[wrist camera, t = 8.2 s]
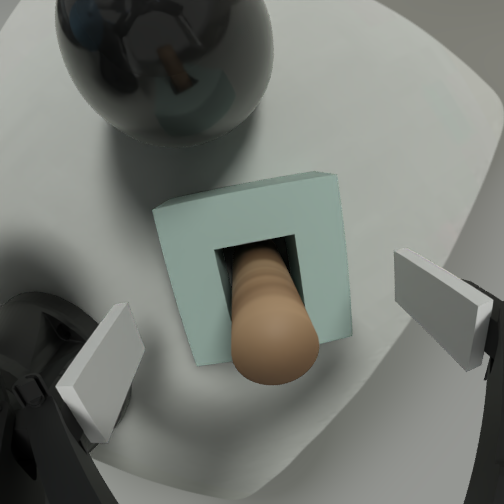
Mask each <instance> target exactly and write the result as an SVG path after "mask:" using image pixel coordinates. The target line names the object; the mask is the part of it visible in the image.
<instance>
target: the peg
mask: <svg viewBox="0 0 504 504" xmlns="http://www.w3.org/2000/svg"><path fill="white" fill-rule="evenodd" d="M318 353H319V338H318V335H317V333H316V330H315V328H314V326H313V324H312V322H311V320H310V317H309V315H308V313H307V311H306V309H305V306H304V304H303V302H302V300H301V298H300V296H299V294H298V291H297V289H296V287H295V285H294V283H293V281H292V279H291V276H290V274H289V272H288V270H287V268H286V266H285V264H284V261H283V259H282V257H281V255H280V253H279V251H278V249H277V247H276V245H275V243H274V242H273V241H272V240H271V239H266V240H261V241H256V242H251V243H246V244H240V245H236V246H235V248H234V252H233V274H232V326H231V356H232V360H233V363H234V365H235V367H236V369H237V370H238V371H239V372H240V373H241V374H242V375H243V376H244V377H245V378H247V379H249V380H251V381H253V382H255V383H259V384H263V385H280V384H285V383H288V382H291V381H293V380H296V379H298V378H299V377H301V376H302V375H304V374H305V373H306V372H307V371H308V370H309V369H310V368H311V367H312V365H313V364H314V362H315V361H316V358H317V356H318Z"/></svg>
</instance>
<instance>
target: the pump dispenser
mask: <svg viewBox="0 0 504 504" xmlns="http://www.w3.org/2000/svg"><path fill="white" fill-rule="evenodd" d="M55 27H56V34H57V39H58V44H59V48H60V51H61V55H62V58H63V60H64V63H65V66H66V68H67V70H68V73H69V75H70V77H71V79H72V81H73V83H74V84H75V86H76V88H77V89H78V91H79V92H80V94H81V95H82V97H83V98H84V99H85V100H86V102H87V103H88V104H89V105H90V106H91V107H92V108H93V109H94V111H96V112H97V113H98V114H99V115H100V116H101V117H102V118H103V119H104V120H106V121H107V122H108V123H109V124H111V125H112V126H113V127H115V128H116V129H118V130H119V131H121V132H122V133H124V134H125V135H127V136H129V137H131V138H133V139H135V140H138V141H140V142H143V143H146V144H150V145H154V146H159V147H167V148H183V147H191V146H196V145H200V144H204V143H207V142H210V141H213V140H215V139H217V138H219V137H221V136H223V135H225V134H227V133H228V132H230V131H232V130H233V129H234V128H236V127H237V126H238V125H240V124H241V123H242V122H243V121H244V120H245V119H246V118H247V117H248V116H249V115H250V114H251V113H252V112H253V110H254V109H255V108H256V107H257V105H258V104H259V102H260V100H261V99H262V97H263V95H264V93H265V91H266V89H267V86H268V83H269V80H270V77H271V73H272V68H273V59H274V46H273V33H272V27H271V21H270V17H269V14H268V10H267V8H266V5H265V2H264V0H56V6H55Z"/></svg>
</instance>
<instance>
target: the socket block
mask: <svg viewBox="0 0 504 504" xmlns="http://www.w3.org/2000/svg"><path fill="white" fill-rule="evenodd" d="M152 212H153V216H154V220H155V224H156V228H157V232H158V236H159V240H160V244H161V248H162V252H163V256H164V260H165V263H166V267H167V271H168V274H169V278H170V282H171V285H172V289H173V292H174V296H175V299H176V302H177V306H178V309H179V312H180V316H181V319H182V322H183V325H184V329H185V332H186V335H187V338H188V341H189V344H190V347H191V350H192V353H193V356H194V359H195V362H196V365H197V366H203V365H210V364H217V363H223V362H230V361H233V360H232V356H231V326H232V289H231V285H230V281H229V276H228V272H227V267H226V263H225V258H224V254H223V249H222V248H225V247H230V246H235V245H240V244H246V243H251V242H256V241H261V240H266V239H272V238H277V237H282V236H285V241H286V248H287V254H288V260H289V267H290V273H291V279H292V281H293V283H294V285H295V287H296V289H297V291H298V294H299V296H300V298H301V300H302V302H303V304H304V306H305V309H306V311H307V313H308V315H309V317H310V320H311V322H312V324H313V326H314V328H315V330H316V333H317V335H318V338H319V344H322V343H326V342H330V341H334V340H338V339H342V338H346V337H350V336H352V315H351V299H350V285H349V273H348V262H347V251H346V241H345V232H344V223H343V215H342V207H341V200H340V192H339V185H338V178H337V174H331V173H324V172H316V171H313V172H307V173H301V174H295V175H289V176H283V177H277V178H271V179H266V180H260V181H255V182H249V183H244V184H239V185H234V186H229V187H224V188H219V189H214V190H209V191H204V192H199V193H195V194H190V195H186V196H181V197H177V198H172V199H169V200H168V201H166V202H164V203H163V204H161V205H159V206H158V207H156V208H154V209H153V210H152Z"/></svg>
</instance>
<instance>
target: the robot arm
mask: <svg viewBox="0 0 504 504" xmlns="http://www.w3.org/2000/svg"><path fill="white" fill-rule="evenodd" d="M394 269H395V301H396V302H397V303H398V304H399V305H400V306H401V307H402V308H403V309H404V310H405V311H406V312H407V313H408V314H409V315H410V316H411V317H412V318H413V319H415V321H417V322H418V323H419V324H420V325H421V326H422V327H423V328H424V329H425V330H426V331H427V332H428V333H429V334H430V335H431V336H432V337H433V338H434V339H435V340H436V341H437V342H438V343H439V344H440V345H441V346H442V347H443V348H444V349H445V350H446V351H447V352H448V353H449V354H450V355H451V356H452V357H453V358H454V360H455V361H456V362H457V363H458V364H459V365H460V366H461V367H462V368H463V369H464V370H465V371H466V372H467V371H470V370H472V369H474V368H476V367H478V366H480V365H481V364H482V359H483V355H484V351H485V352H486V353H487V354H488V355H489V356H490V359H489V363H488V367H487V371H486V374H485V378H484V380H487V386H486V396H485V405H484V413H483V420H482V427H481V432H480V438H479V443H478V448H477V453H476V458H475V463H474V467H473V472H472V475H471V479H470V483H469V487H468V490H467V494H466V497H465V500H464V504H504V301H501V300H500V299H498V298H497V297H495V296H494V295H492V294H490V293H489V292H487V291H485V290H484V289H482V288H479V286H478V285H476V284H474V283H472V282H470V281H467V280H464V279H459V278H458V277H456V276H455V275H453V274H451V273H449V272H448V271H446V270H445V269H443V268H441V267H440V266H438V265H436V264H434V263H433V262H431V261H429V260H428V259H426V258H424V257H422V256H421V255H419V254H417V253H415V252H414V251H412V250H410V249H408V248H403V249H398V250H394ZM144 352H145V347H144V345H143V342H142V340H141V337H140V334H139V332H138V329H137V326H136V323H135V321H134V318H133V315H132V312H131V309H130V306H129V303H128V302H125V303H119V304H114V306H113V307H112V308H111V310H110V311H109V312H108V314H107V315H106V316H105V317H104V319H103V320H102V321H101V323H100V324H97V323H96V322H95V321H94V320H93V319H92V318H91V317H90V316H89V315H87V314H86V313H85V312H83V311H82V310H81V309H79V308H78V307H76V306H75V305H73V304H71V303H69V302H68V301H66V300H64V299H61V298H59V297H56V296H54V295H50V294H46V293H41V292H27V293H23V294H20V295H17V296H15V297H14V298H12V299H11V300H9V301H8V302H7V303H5V304H4V305H3V306H1V307H0V504H118V502H117V501H116V499H115V497H114V496H113V494H112V493H111V491H110V490H109V488H108V486H107V485H106V483H105V481H104V480H103V478H102V476H101V475H100V473H99V471H98V469H97V468H96V466H95V464H94V462H93V460H92V458H91V457H90V455H89V452H91V451H92V450H93V449H94V448H95V447H96V446H97V445H98V444H99V443H108V442H109V439H110V436H111V434H112V431H113V430H114V429H115V428H116V426H117V425H118V424H119V423H120V421H121V419H122V417H123V415H124V413H125V410H126V407H127V405H128V402H129V399H130V394H131V383H132V380H133V378H134V375H135V373H136V371H137V368H138V366H139V363H140V361H141V359H142V356H143V354H144Z"/></svg>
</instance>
